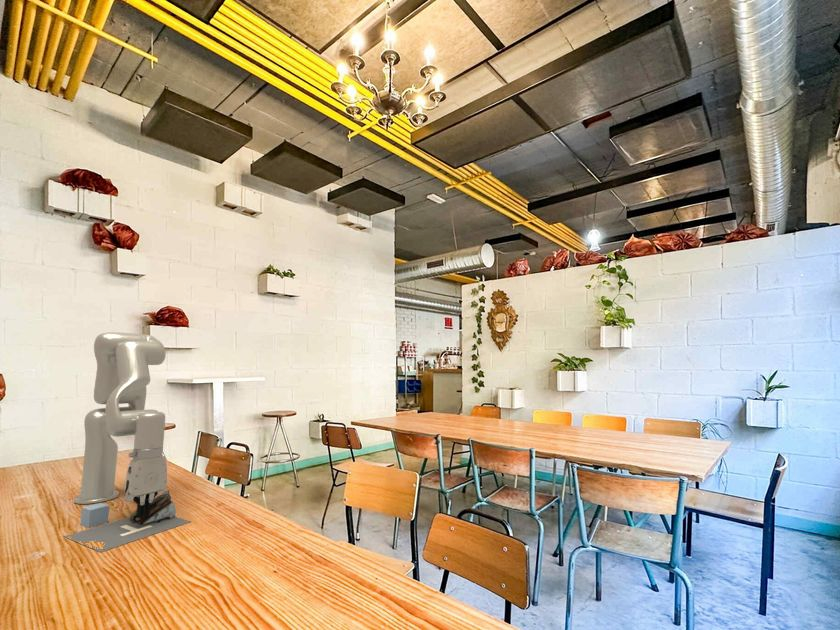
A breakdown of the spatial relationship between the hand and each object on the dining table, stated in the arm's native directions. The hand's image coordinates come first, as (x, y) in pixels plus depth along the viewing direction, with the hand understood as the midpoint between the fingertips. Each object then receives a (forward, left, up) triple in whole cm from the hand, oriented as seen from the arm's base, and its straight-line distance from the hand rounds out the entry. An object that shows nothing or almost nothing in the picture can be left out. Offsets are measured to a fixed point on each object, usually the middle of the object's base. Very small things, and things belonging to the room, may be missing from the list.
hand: (143, 517), depth 123 cm
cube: (-14, -6, -2) cm, 16 cm away
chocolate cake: (-1, +4, -2) cm, 5 cm away
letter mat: (0, -3, -2) cm, 4 cm away
